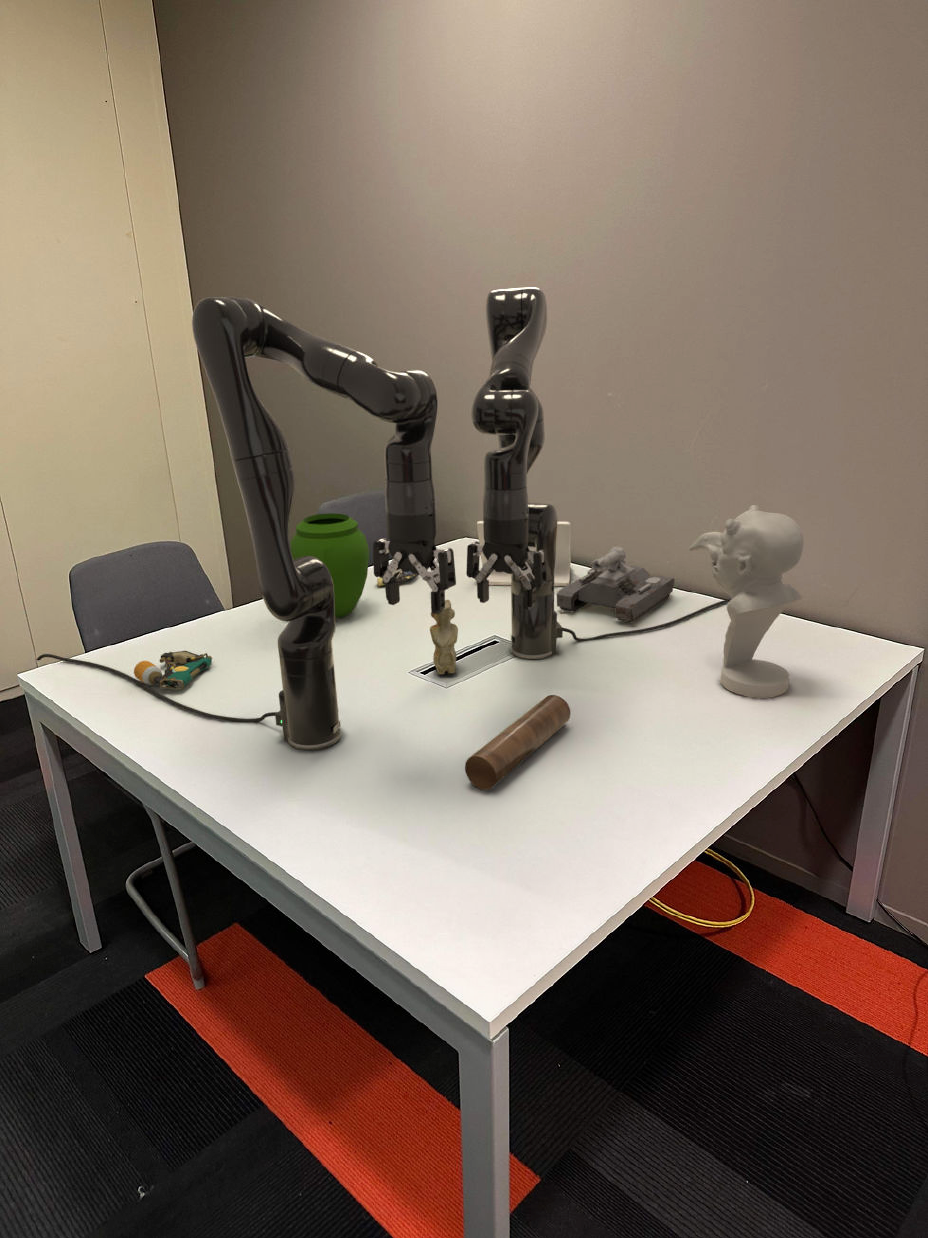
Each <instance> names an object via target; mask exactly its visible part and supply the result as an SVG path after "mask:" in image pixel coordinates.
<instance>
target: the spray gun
mask: <svg viewBox="0 0 928 1238" xmlns="http://www.w3.org/2000/svg"><path fill="white" fill-rule="evenodd" d="M212 660H213V657H212V656H211V655H208V653H207V652H205V653H201V654H197V653H194V652H192V651H191V652H190V651H188V650H180V651H169V652H164V653H162V654H161V655H160V658H159V660H158V662H159V663H161V664H163V663H165V664H166V668H165V670H163V672H164V674H163V673H162V669H160V668H159V666H157V665H156V664H154V663H152V662H151V661H149V660H141V661H139V662H138V663H136V665H135V666H134V668H133V675H134V677H135V679H136V680H138V681H140V682H141V683H143V684H145V685H146V686H155V685H157V686H158V687H160V688H161V689H171V690H172V689H173V690H182V689H184V687H185V686H186V685H188V684H189V683H190V682H191V681H192V679H193V678H195V677H196V676H197V675H198V674H200V673H201V672H202V671H203V670H206V669H208V668H209V667H210V666H211V665H212V662H213V661H212ZM178 663H179V664H181V665H179V666H176V665H177V664H178Z"/></svg>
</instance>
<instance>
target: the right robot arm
mask: <svg viewBox="0 0 928 1238" xmlns="http://www.w3.org/2000/svg"><path fill="white" fill-rule="evenodd" d="M547 305H548V304H547V299H546V295H545V293H544V291H543V290H542V289H541V288H539V287H533V286H527V287H526V286H525V287H514V288H503V289H494V290H491V291H490V292H488V294H487V297H486V301H485V315H486V316H485V318H486V325H487V326H486V327H487V334H488V340H489V347H490V355H491V364H490V370H489V375H488V378H487V379H486V380H485V382H484V383H483V385H482V386H481V387H480V388H479V390H478V391H477V393H476V395H475V397H474V400H473V402H472V404H471V405H472V406H471V412H470V413H471V420H472V424H473V426H474V428H475V430H477V431H478V433H480V434H482V435H487V436H497V438H498V447H499V448H495V449H491V450H489V451H487V452H486V453H485V455H484V458H483V480H484V481H483V483H484V486H483V498H482V506H483V507H482V508H483V509H482V521H483V529H484V541H485V543H484V545H482V544H480V543H479V540H478V541H474V542H472V543H470V544H468V545H467V547H466V576H467V578H470V579H474V580H475V582H476V596H477V599H478V600H479V603H481V604H485V603H487V602H489V601H490V585H489V580H487V578H488V577H489V575H490V574H491V573H492V571H493V570H495V572H505V573H508V574H511V585H510V588H511V589H510V597H511V599H510V603H511V604H510V606H511V607H510V609H511V610H510V615H511V617H510V618H511V621H510V622H511V635H510V641H511V643H510V644H511V647H510V651H511V653H512V655H513V656H515V657H518V658H521V659H525V660H526V659H527V660H540V659H545V658H548V657H550V656H552V655H557V654H558V653H557V650H558V649H557V648H558V647H557V645H558V644H557V643H558V639H561V638H564V637H563V632H565V633H569V634H570V635H571V636H572V639H573V640H574V641H576V642H579V643H581V642H589V641H597V640H601V639H605V638H610V637H617V636H625V635H633V634H639V633H646V632H651V631H654V630H658V629H663V628H665V627H668V626H671V625H675V624H677V623H681V622H682V621H685V620H687V619H689V618H692V617H694V616H697V615H698V614H701V613H703V612H705V611H708V610H710V609H713V608H716V607H718V606H720V605H723V604H728V603H729V601H730V600H731V599H732V598H726V599H724V600H720V601H718V602H715V603H712V604H710V605H707V606H705V607H702V608H700V609H698V610H696V611H694V612H691V613H688V614H687V615H684V616H682V617H680V618H679V617H678V618H677V619H674V620H672V621H669V622H666V623H662V624H658V625H655V626H650V627H645V628H640V629H633V630H627V631H625V630H624V631H617V632H616V631H615V632H609V633H604V634H600V635H597V636H593V637H589V638H582V637H577V634H576V632H574V630H572V629H570V628H566V627H563V626H562V624H560V623H559V621H558V613H557V612H556V611H555V586H554V570H555V560H556V539H557V524H558V522H559V521H558V512H557V509H556V507H555V506H554V505H553V504H551V503H544V502H531V501H529V495H528V474H529V473H530V470H531V468H532V467H533V465H534V463H535V462H536V460H537V459H538V457H539V455H540V453H541V452H542V450H543V447H544V443H545V435H546V434H545V433H546V432H545V416H544V409H543V405H542V403H541V400H540V399H539V397H538V396H537V394H536V393H535V392H534V390H533V389H532V388H531V381H532V376H533V375H532V374H533V367H534V363H535V359H536V357H537V356H538V353H539V350H540V348H541V345H542V342H543V340H544V337H545V335H546V331H547V325H548V306H547ZM528 547H536V551H530V550H529V548H528ZM482 552H483V554H484V556H485V557H486V559H487V562H486V563H485V565H484V566H483V567H482V566H481V569H480V559H481V558H480V557H481V554H482Z"/></svg>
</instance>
